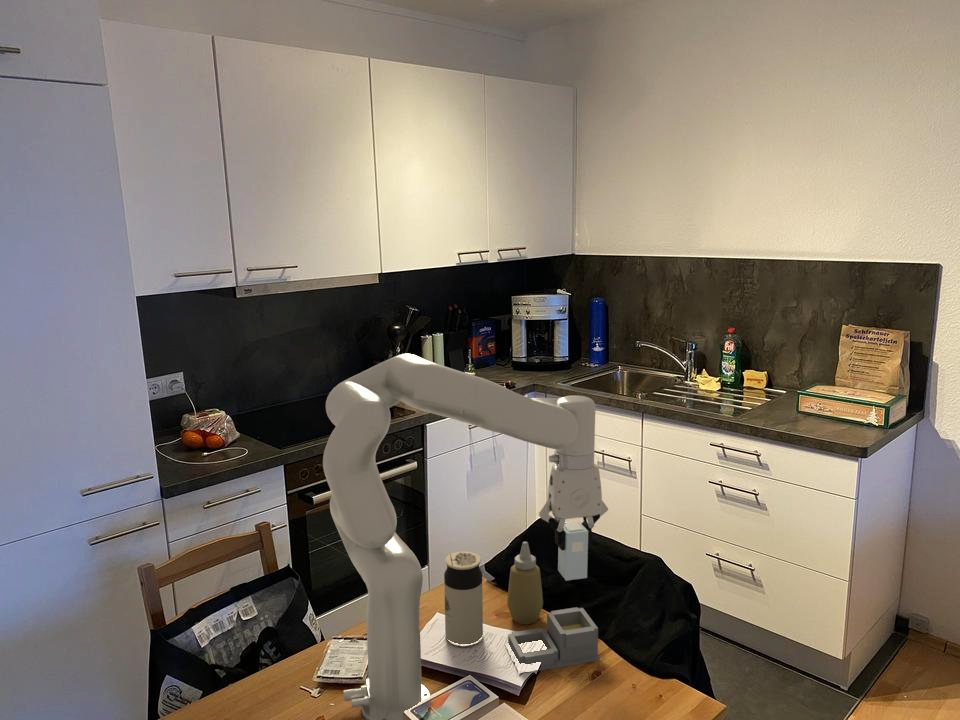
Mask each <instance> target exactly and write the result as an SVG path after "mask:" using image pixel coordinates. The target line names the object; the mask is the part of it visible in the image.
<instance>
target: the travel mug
mask: <svg viewBox="0 0 960 720" xmlns="http://www.w3.org/2000/svg"><path fill="white" fill-rule="evenodd" d="M481 562H482V558H481V557H480V556H479V554H477V553H475V552H471V551H464V550H463V551H456V552H452V553H450V554H448V555H447V556H446V557H445V559H444V563H445V564H446V568H445V571H444V573H443V574H444V575H443V576H444V583H443V584H444V586H443V587H444V625H445V629H444V630H445V632H444V633H445V635H446V636H445V639H446V638H447V639H448V640H450V641H452V642H454V643H458V644H471V643H474V642H476V641H478V640H479V639H480V638H481V637H482V635H483V636H484V631H483V630H484V629H483V628H484V627H483V626H484V624H483V622H484V620H483V617H484V615H483V613H484V612H483V611H484V610H483V609H484V608H483V607H484V606H483V605H484V604H483V571H482V569H481V567H480V564H481Z"/></svg>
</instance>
